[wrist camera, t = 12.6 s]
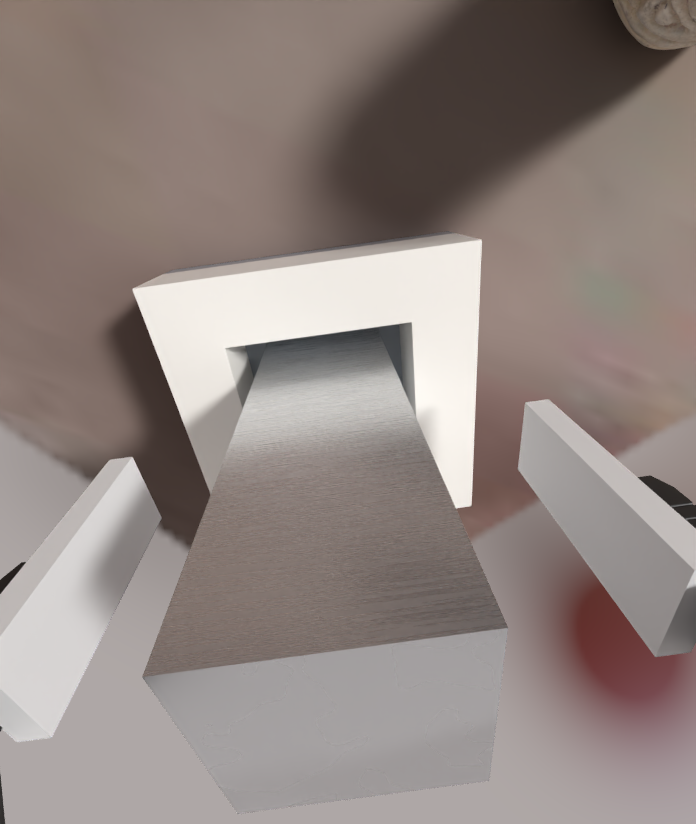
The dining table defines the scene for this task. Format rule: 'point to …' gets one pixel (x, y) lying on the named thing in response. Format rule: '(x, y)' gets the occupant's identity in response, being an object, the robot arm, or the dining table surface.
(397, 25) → the dining table surface
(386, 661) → the square peg
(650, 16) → the carving
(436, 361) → the bore block
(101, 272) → the dining table surface
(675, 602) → the robot arm
